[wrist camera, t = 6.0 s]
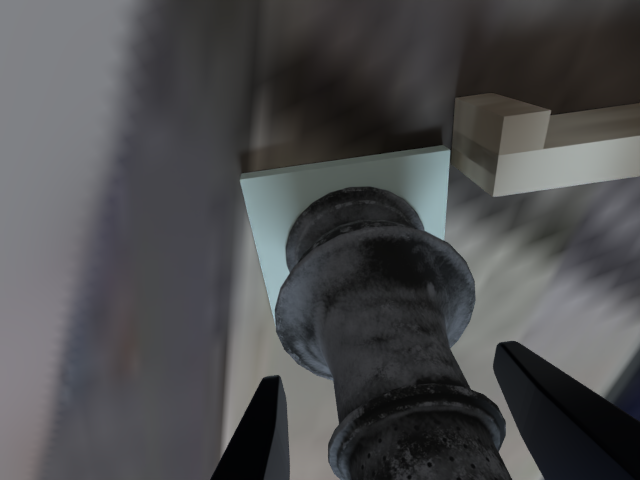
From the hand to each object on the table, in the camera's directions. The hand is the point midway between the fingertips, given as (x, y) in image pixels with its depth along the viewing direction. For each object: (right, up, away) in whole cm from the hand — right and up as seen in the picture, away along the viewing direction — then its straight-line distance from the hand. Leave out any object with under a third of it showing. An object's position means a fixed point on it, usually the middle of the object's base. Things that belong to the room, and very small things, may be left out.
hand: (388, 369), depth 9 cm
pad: (-1, +3, +5) cm, 6 cm away
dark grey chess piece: (0, +3, +5) cm, 6 cm away
